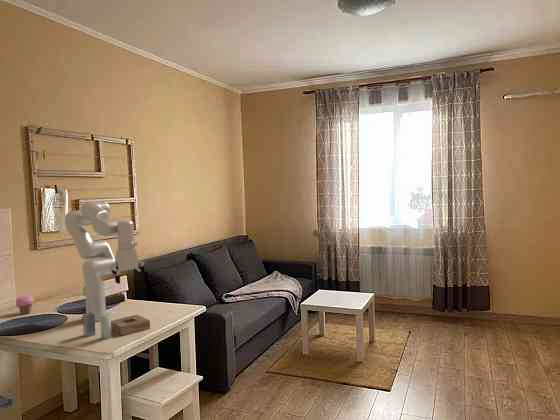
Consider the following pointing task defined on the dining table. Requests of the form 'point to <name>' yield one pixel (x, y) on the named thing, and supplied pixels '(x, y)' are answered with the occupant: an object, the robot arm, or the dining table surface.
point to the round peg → (105, 326)
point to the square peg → (89, 324)
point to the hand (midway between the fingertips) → (127, 281)
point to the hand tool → (115, 299)
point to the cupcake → (24, 304)
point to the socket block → (130, 325)
